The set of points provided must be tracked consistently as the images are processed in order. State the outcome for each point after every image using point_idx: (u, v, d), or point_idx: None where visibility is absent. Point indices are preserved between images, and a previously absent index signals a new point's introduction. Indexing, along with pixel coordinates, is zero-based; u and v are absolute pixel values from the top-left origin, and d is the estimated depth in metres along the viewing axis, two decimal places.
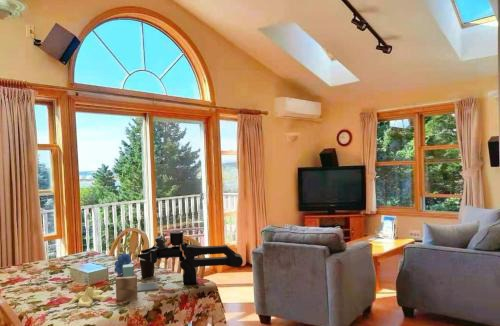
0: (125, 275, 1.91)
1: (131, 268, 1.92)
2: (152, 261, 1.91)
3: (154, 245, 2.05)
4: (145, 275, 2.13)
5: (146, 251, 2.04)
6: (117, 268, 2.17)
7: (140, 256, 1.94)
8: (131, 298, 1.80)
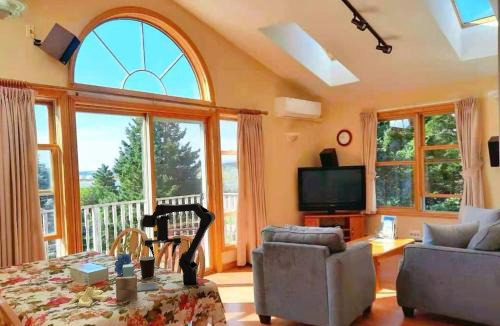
0: (125, 275, 1.91)
1: (131, 268, 1.92)
2: (144, 244, 2.00)
3: (172, 242, 2.08)
4: (145, 275, 2.13)
5: None
6: (117, 268, 2.17)
7: None
8: (131, 298, 1.80)
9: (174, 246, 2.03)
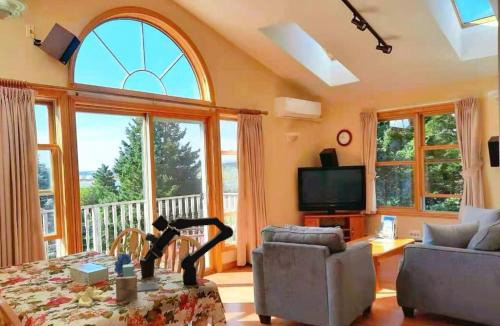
0: (125, 275, 1.91)
1: (131, 268, 1.92)
2: (159, 255, 1.89)
3: (150, 245, 2.02)
4: (145, 275, 2.13)
5: (148, 255, 2.01)
6: (117, 268, 2.17)
7: (147, 261, 1.91)
8: (131, 298, 1.80)
9: None
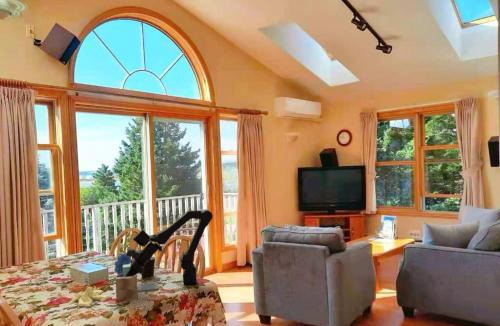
0: (125, 275, 1.91)
1: None
2: (139, 271, 1.86)
3: (131, 260, 1.97)
4: (145, 275, 2.13)
5: None
6: (117, 268, 2.17)
7: (127, 276, 1.91)
8: (131, 298, 1.80)
9: None
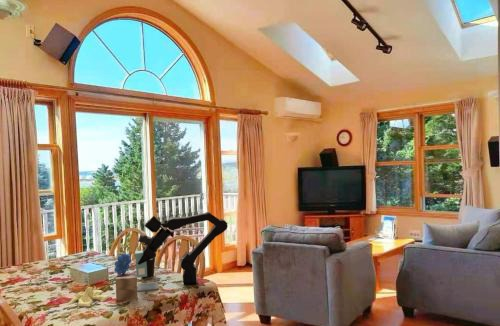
0: (138, 261, 1.93)
1: None
2: (152, 257, 1.88)
3: (143, 247, 1.99)
4: None
5: None
6: (117, 268, 2.17)
7: (140, 262, 1.92)
8: (131, 298, 1.80)
9: None
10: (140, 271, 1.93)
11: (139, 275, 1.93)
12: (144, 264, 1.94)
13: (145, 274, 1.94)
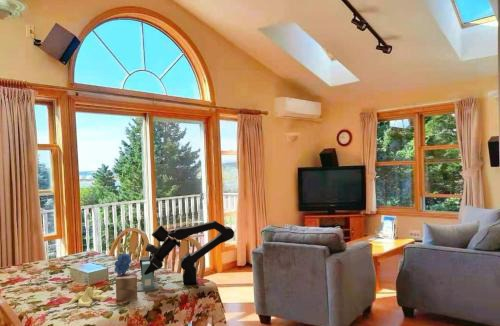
0: (144, 272, 1.94)
1: None
2: (159, 266, 1.89)
3: (150, 255, 2.02)
4: None
5: None
6: (117, 268, 2.17)
7: (147, 272, 1.91)
8: (131, 298, 1.80)
9: None
10: (146, 282, 1.94)
11: (145, 286, 1.94)
12: (150, 275, 1.94)
13: (151, 285, 1.94)
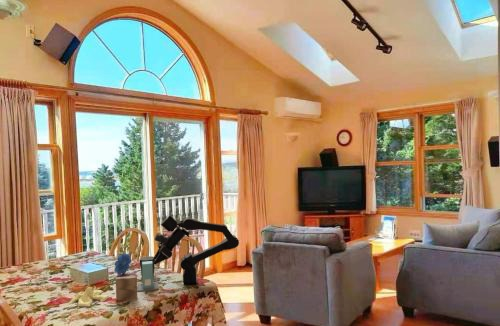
0: (144, 272, 1.94)
1: (150, 265, 1.94)
2: (169, 256, 1.90)
3: (159, 245, 2.03)
4: None
5: (157, 255, 2.02)
6: (117, 268, 2.17)
7: (156, 262, 1.93)
8: (131, 298, 1.80)
9: None
10: (146, 282, 1.94)
11: (145, 286, 1.94)
12: (150, 275, 1.94)
13: (151, 285, 1.94)
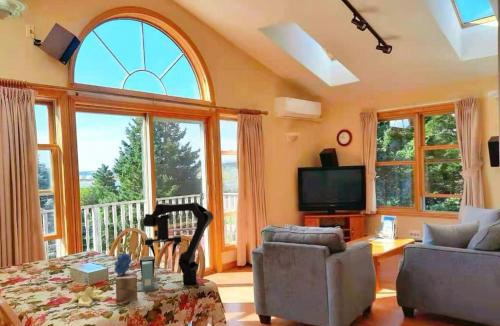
0: (144, 272, 1.94)
1: (150, 265, 1.94)
2: (145, 243, 2.02)
3: None
4: None
5: (172, 250, 2.07)
6: (117, 268, 2.17)
7: (153, 254, 2.05)
8: (131, 298, 1.80)
9: (174, 245, 2.05)
10: (146, 282, 1.94)
11: (145, 286, 1.94)
12: (150, 275, 1.94)
13: (151, 285, 1.94)
